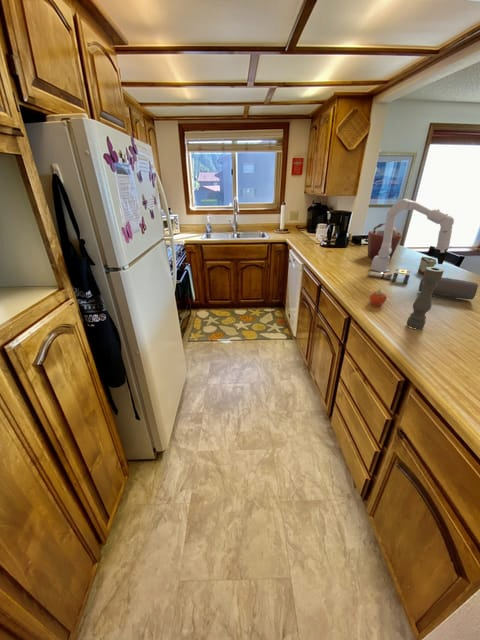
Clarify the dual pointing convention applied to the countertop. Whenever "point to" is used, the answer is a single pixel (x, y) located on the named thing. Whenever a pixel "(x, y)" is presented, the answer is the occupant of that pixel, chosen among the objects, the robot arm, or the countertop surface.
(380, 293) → the tomato
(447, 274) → the countertop surface
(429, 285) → the candle holder
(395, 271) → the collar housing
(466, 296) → the bluetooth speaker
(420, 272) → the food container
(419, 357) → the countertop surface
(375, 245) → the bucket
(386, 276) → the tube
